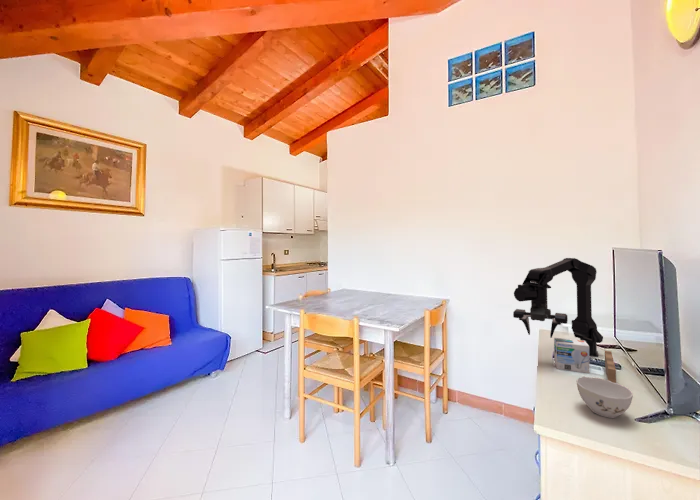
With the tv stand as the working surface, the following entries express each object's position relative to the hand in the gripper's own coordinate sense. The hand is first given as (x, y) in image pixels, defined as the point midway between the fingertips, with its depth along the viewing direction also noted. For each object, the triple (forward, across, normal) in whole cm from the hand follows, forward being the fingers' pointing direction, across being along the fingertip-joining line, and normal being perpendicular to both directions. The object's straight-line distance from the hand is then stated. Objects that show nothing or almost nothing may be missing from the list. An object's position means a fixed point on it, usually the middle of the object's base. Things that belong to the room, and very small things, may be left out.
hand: (540, 336), depth 121 cm
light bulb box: (+11, +10, 0) cm, 15 cm away
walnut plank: (+11, +22, 0) cm, 24 cm away
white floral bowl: (+11, +18, -30) cm, 37 cm away
